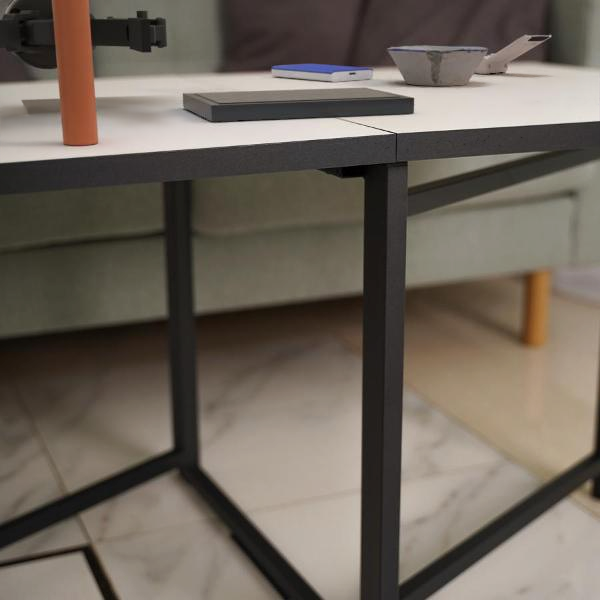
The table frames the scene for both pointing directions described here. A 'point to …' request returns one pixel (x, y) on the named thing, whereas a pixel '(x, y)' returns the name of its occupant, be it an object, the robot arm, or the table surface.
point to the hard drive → (322, 72)
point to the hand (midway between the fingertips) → (63, 37)
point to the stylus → (75, 71)
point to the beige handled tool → (508, 54)
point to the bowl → (437, 64)
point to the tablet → (296, 104)
